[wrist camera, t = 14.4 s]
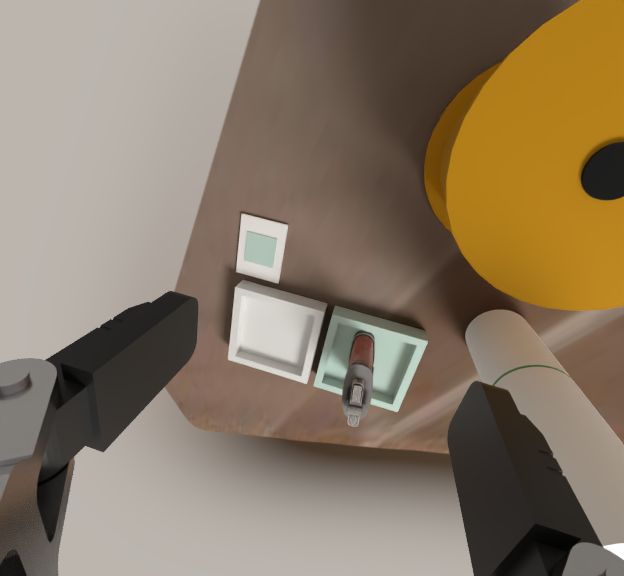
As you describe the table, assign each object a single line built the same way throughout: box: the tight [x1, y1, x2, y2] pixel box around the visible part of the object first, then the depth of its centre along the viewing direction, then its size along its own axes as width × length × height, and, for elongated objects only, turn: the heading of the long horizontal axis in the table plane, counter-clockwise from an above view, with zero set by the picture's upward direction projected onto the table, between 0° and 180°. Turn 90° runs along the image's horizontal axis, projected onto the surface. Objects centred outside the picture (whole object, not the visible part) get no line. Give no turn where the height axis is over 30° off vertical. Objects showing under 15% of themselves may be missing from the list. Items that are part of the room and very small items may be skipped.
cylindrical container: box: [465, 310, 624, 560], centre depth 28 cm, size 7×7×25 cm
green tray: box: [314, 306, 428, 412], centre depth 43 cm, size 12×12×2 cm
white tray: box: [228, 280, 328, 384], centre depth 45 cm, size 12×12×2 cm
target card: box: [236, 213, 288, 283], centre depth 41 cm, size 8×6×1 cm
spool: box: [424, 0, 624, 311], centre depth 25 cm, size 18×18×15 cm
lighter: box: [342, 330, 375, 427], centre depth 39 cm, size 8×3×10 cm, turn 177°
